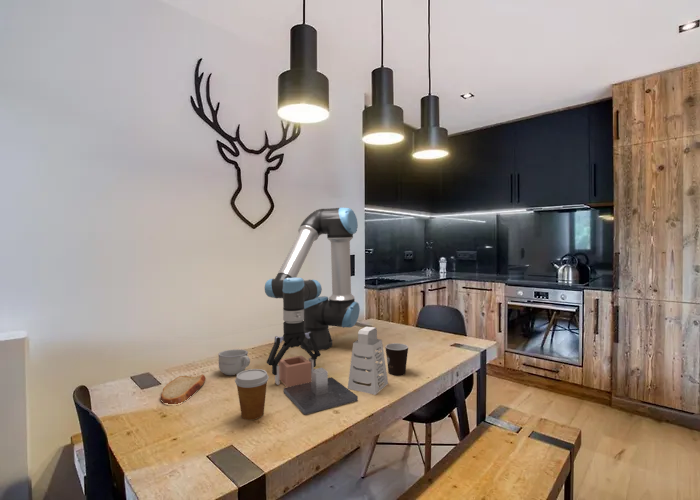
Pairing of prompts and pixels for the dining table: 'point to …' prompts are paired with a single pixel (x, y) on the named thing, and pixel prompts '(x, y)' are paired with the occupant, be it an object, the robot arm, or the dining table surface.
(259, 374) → the disposable coffee cup
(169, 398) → the slice of bread
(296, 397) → the post stand
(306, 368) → the hollow square tube
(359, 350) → the grater
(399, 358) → the coffee mug
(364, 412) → the dining table surface
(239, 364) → the teacup
